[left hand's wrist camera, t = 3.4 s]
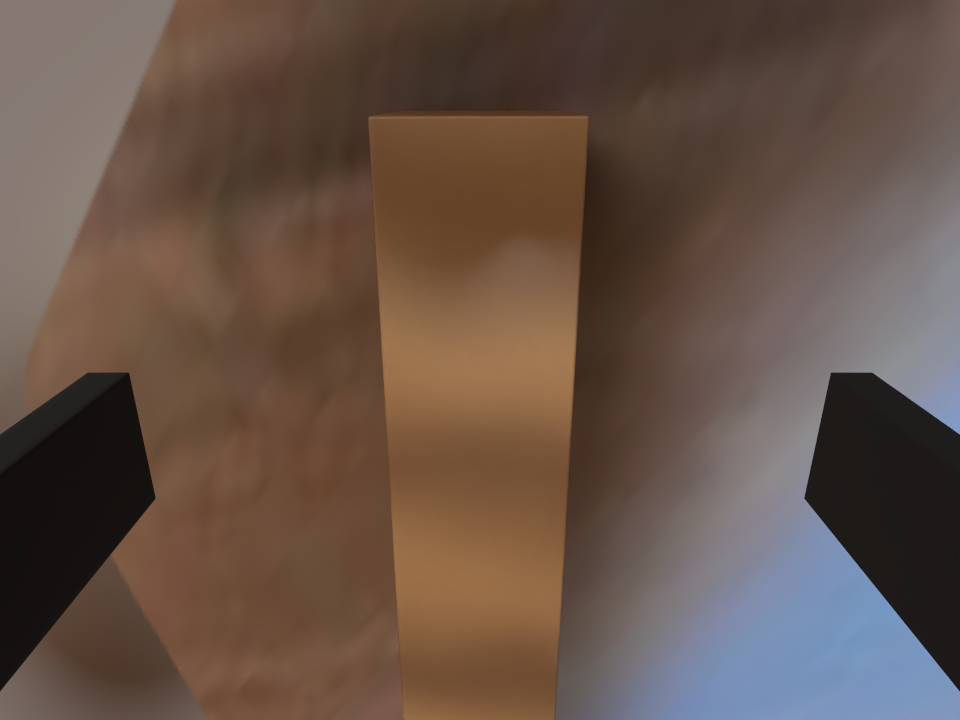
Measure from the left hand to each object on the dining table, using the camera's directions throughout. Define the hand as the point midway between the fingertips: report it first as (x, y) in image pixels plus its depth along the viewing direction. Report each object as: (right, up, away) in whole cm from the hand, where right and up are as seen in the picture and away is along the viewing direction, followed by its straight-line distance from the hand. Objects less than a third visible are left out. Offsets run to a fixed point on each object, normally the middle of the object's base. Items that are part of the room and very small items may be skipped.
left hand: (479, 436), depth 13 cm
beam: (0, -24, +26) cm, 35 cm away
